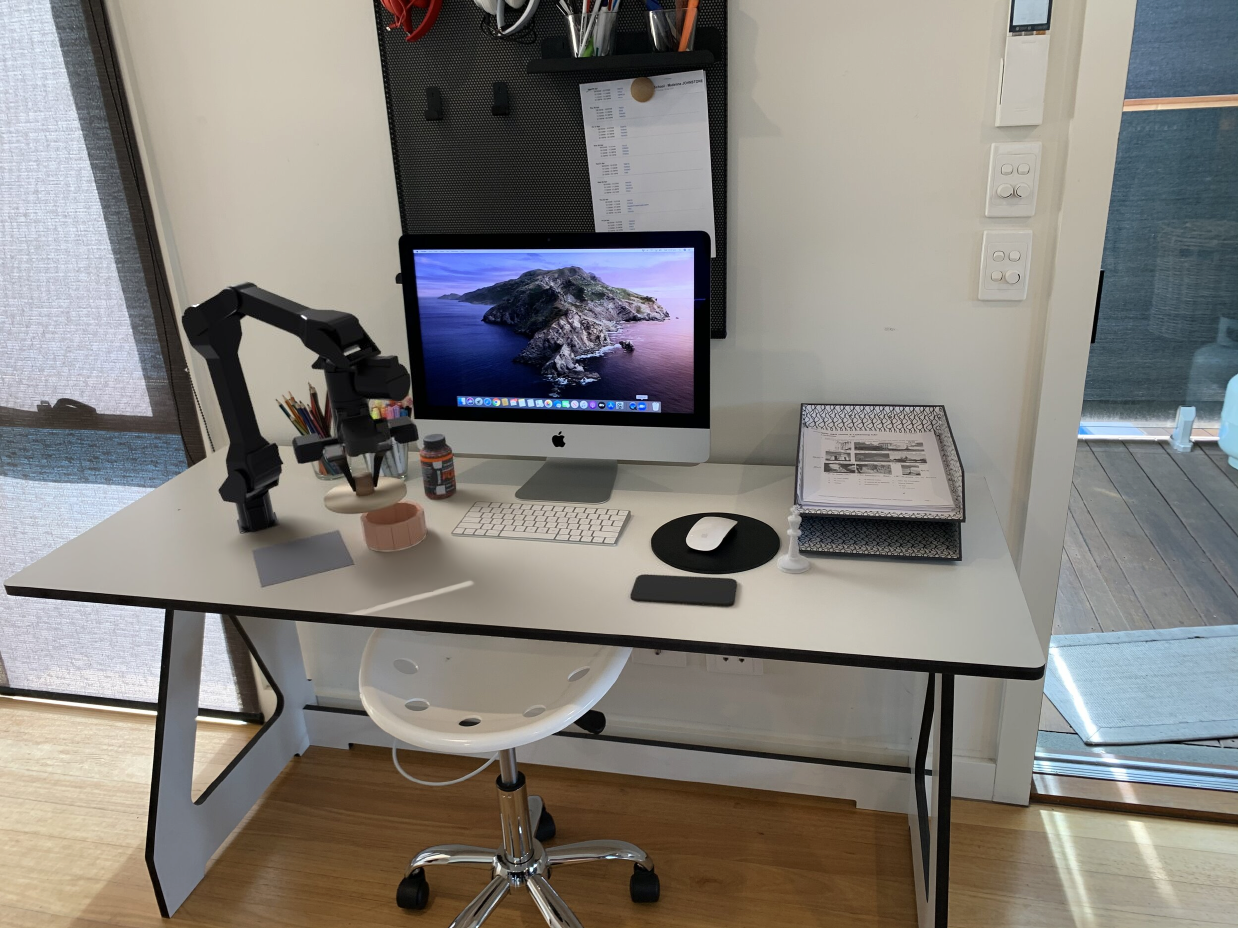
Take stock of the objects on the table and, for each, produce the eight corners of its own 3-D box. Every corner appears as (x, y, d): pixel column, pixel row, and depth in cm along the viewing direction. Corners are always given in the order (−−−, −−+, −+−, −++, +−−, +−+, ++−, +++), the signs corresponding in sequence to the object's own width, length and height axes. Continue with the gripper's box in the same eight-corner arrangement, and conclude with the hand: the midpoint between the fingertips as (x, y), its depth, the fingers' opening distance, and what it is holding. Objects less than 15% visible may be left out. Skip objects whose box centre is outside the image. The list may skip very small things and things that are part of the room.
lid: (319, 492, 148) (314, 471, 147) (397, 475, 153) (393, 454, 152) (331, 520, 137) (326, 498, 136) (415, 501, 142) (411, 479, 141)
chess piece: (790, 576, 133) (792, 516, 129) (770, 563, 137) (771, 504, 133) (816, 568, 135) (819, 508, 131) (796, 555, 139) (798, 496, 135)
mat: (252, 553, 148) (252, 550, 148) (339, 533, 154) (338, 530, 154) (262, 590, 136) (261, 586, 136) (355, 567, 142) (354, 563, 142)
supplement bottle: (450, 500, 164) (442, 443, 160) (419, 499, 165) (411, 442, 161) (461, 487, 170) (454, 431, 165) (432, 486, 171) (424, 431, 167)
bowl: (360, 535, 152) (355, 509, 151) (417, 522, 156) (414, 496, 154) (372, 559, 144) (368, 532, 142) (433, 544, 148) (429, 517, 146)
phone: (637, 573, 135) (737, 578, 132) (637, 578, 136) (737, 583, 133) (628, 598, 129) (733, 604, 126) (629, 603, 129) (733, 609, 126)
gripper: (291, 422, 129) (311, 520, 134) (419, 398, 135) (433, 493, 141) (283, 402, 138) (302, 495, 144) (403, 381, 145) (417, 470, 151)
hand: (364, 488), depth 145 cm, fingers closed on lid, 3 cm apart
